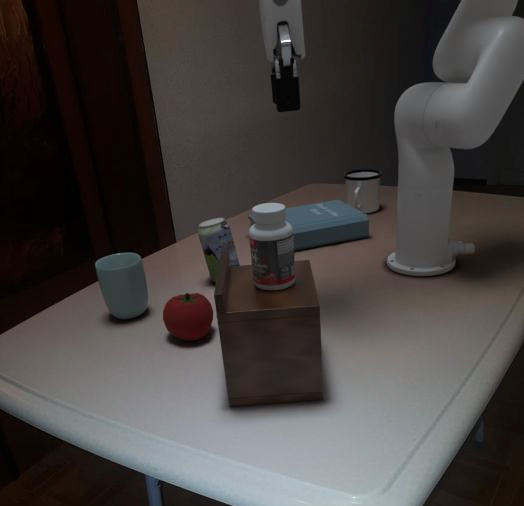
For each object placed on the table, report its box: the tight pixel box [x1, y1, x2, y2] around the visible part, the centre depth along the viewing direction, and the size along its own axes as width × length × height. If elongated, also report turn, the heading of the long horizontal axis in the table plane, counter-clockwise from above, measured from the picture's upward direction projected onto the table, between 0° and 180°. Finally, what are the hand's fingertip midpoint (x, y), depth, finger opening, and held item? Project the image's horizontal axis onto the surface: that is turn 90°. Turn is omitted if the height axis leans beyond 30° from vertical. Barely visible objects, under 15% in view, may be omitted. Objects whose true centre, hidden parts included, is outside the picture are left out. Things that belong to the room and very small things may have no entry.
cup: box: [94, 252, 149, 320], centre depth 96 cm, size 8×8×10 cm
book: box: [247, 199, 370, 252], centre depth 125 cm, size 23×16×5 cm
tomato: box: [162, 292, 214, 341], centre depth 87 cm, size 8×8×7 cm
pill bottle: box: [248, 202, 296, 290], centre depth 68 cm, size 5×5×10 cm
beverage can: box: [197, 217, 241, 283], centre depth 105 cm, size 6×7×12 cm
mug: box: [342, 168, 383, 215], centre depth 139 cm, size 12×10×9 cm
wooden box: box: [213, 250, 324, 407], centre depth 73 cm, size 12×15×16 cm
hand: (286, 106), depth 80 cm, fingers open, 9 cm apart
